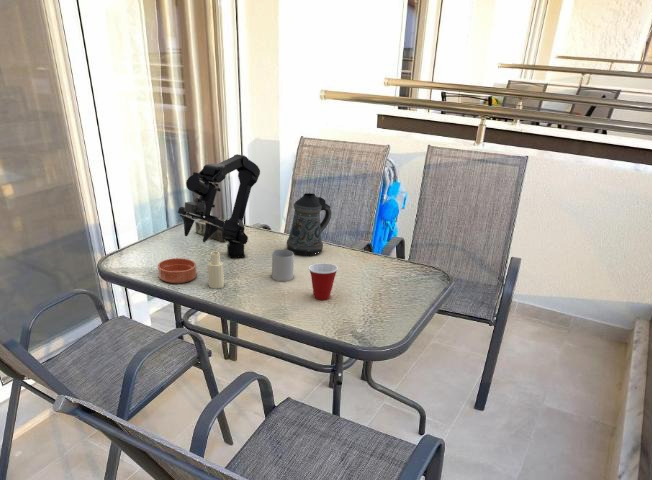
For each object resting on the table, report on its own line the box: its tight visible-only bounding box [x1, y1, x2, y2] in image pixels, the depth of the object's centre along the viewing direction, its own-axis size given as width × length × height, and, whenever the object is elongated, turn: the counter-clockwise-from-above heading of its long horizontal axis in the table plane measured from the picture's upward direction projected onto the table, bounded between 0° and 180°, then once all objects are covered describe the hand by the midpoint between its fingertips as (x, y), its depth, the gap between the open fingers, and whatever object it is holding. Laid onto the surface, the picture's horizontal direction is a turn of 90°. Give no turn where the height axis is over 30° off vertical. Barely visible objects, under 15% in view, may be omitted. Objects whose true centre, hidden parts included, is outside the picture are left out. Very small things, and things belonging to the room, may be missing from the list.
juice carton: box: [194, 219, 225, 243], centre depth 239 cm, size 20×10×6 cm, turn 53°
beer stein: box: [286, 192, 332, 257], centre depth 225 cm, size 16×19×25 cm
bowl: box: [157, 257, 198, 284], centre depth 195 cm, size 14×14×5 cm
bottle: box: [207, 250, 225, 290], centre depth 188 cm, size 6×6×13 cm
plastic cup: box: [308, 262, 339, 301], centre depth 186 cm, size 11×11×12 cm
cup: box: [271, 249, 295, 282], centre depth 200 cm, size 8×8×10 cm
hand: (194, 239), depth 193 cm, fingers open, 9 cm apart
